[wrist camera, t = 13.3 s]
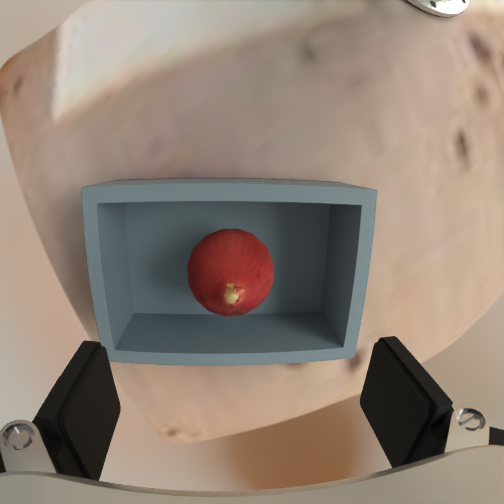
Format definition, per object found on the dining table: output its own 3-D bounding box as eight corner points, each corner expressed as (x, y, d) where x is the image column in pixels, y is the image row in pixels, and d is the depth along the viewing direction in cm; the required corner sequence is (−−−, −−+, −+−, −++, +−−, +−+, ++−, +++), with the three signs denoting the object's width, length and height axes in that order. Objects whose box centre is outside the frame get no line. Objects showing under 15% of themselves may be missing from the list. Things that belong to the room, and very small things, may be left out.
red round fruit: (265, 287, 26) (283, 341, 19) (194, 290, 26) (186, 347, 18) (265, 216, 25) (286, 248, 17) (189, 220, 24) (175, 253, 16)
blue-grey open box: (116, 180, 24) (81, 187, 17) (338, 182, 26) (377, 190, 19) (127, 317, 27) (104, 360, 20) (326, 316, 29) (353, 357, 22)
